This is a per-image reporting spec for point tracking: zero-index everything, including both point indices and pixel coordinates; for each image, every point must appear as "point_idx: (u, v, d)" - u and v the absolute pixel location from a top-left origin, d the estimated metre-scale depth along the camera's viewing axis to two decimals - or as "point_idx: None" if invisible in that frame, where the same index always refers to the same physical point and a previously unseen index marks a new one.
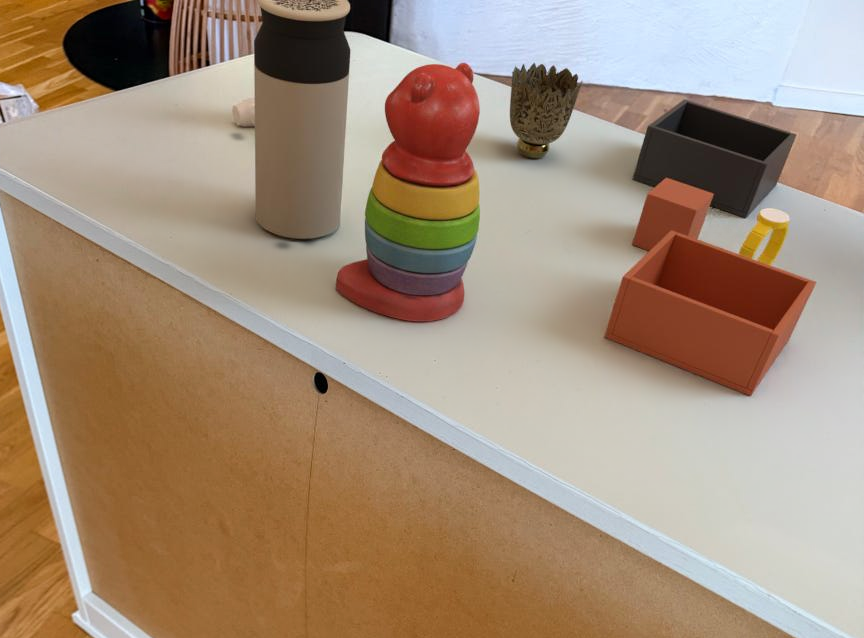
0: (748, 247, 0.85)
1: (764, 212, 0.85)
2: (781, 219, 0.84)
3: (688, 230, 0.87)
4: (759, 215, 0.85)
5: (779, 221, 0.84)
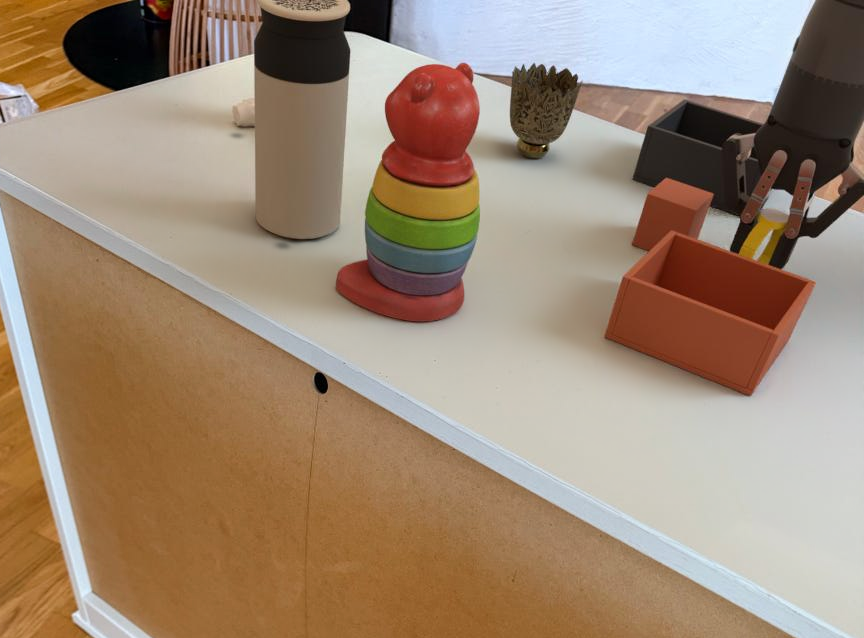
0: (748, 247, 0.85)
1: (764, 212, 0.85)
2: (781, 219, 0.84)
3: (688, 230, 0.87)
4: (759, 215, 0.84)
5: (780, 221, 0.84)
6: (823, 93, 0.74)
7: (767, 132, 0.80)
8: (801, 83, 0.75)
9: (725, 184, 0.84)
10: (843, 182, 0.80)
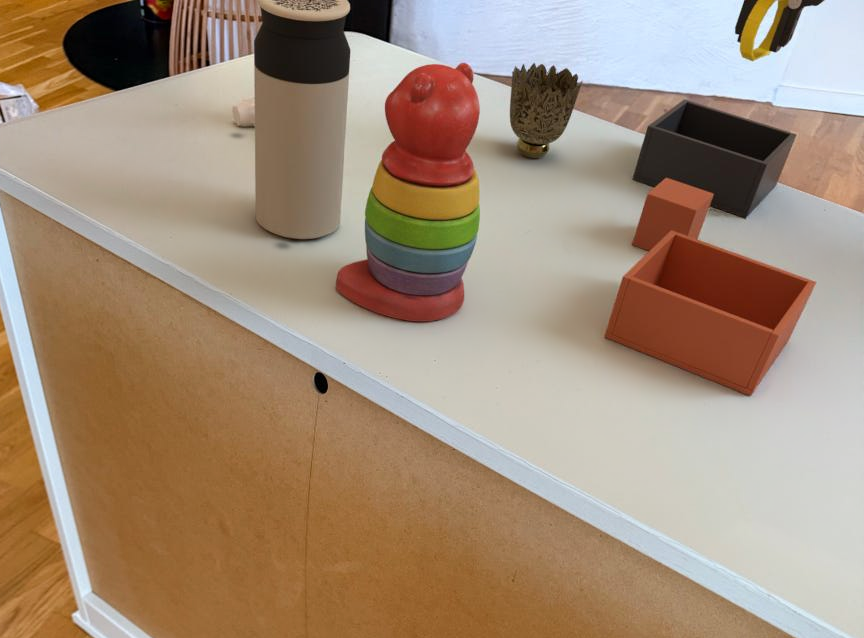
0: (753, 20, 0.88)
1: None
2: None
3: (688, 230, 0.87)
4: None
5: None
6: None
7: None
8: None
9: None
10: None
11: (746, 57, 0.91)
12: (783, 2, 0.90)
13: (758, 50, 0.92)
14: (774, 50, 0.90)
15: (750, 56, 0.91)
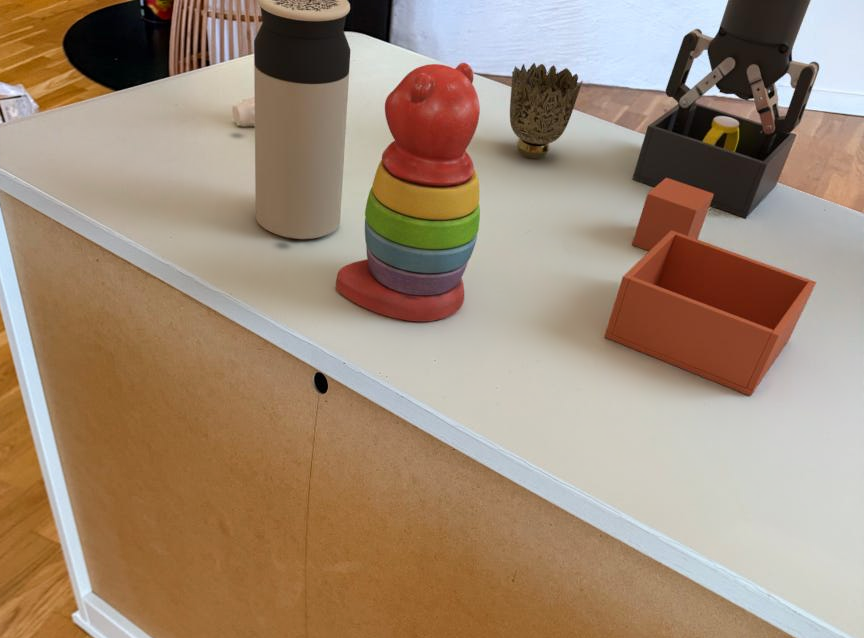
0: None
1: (717, 119, 0.98)
2: (732, 124, 0.97)
3: (688, 230, 0.87)
4: (713, 121, 0.98)
5: (730, 126, 0.97)
6: (762, 3, 0.87)
7: (718, 42, 0.93)
8: None
9: (673, 71, 0.97)
10: (792, 77, 0.92)
11: None
12: None
13: None
14: None
15: None
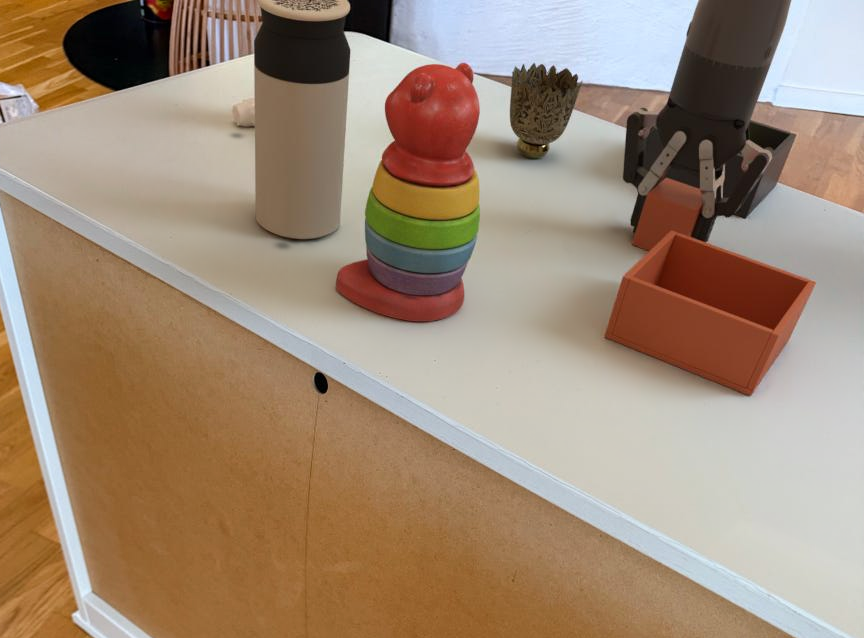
0: None
1: None
2: None
3: (688, 230, 0.87)
4: None
5: None
6: (713, 75, 0.77)
7: (667, 114, 0.83)
8: (693, 66, 0.78)
9: (625, 156, 0.87)
10: (744, 159, 0.83)
11: None
12: None
13: None
14: None
15: None
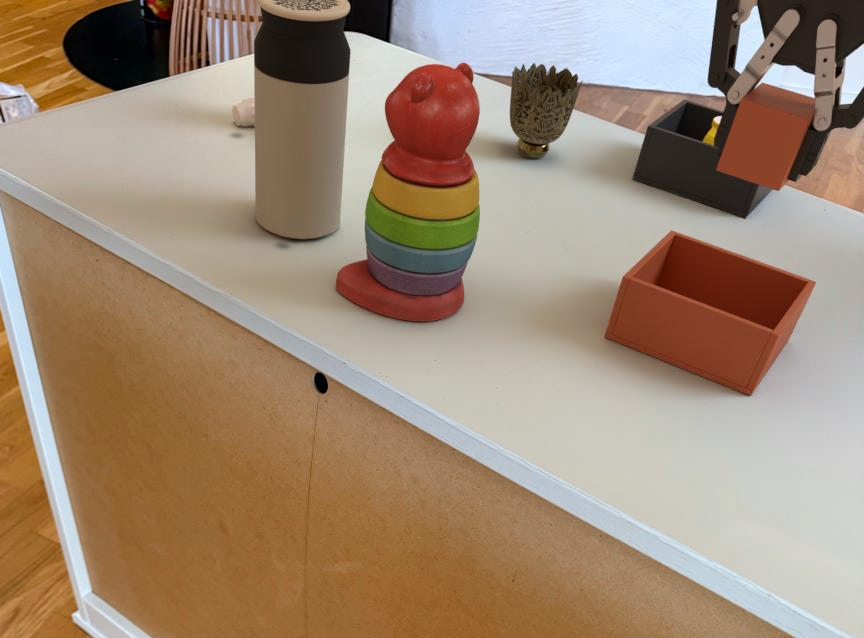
0: None
1: (717, 119, 0.98)
2: None
3: (795, 147, 0.66)
4: (713, 121, 0.98)
5: None
6: None
7: None
8: None
9: (712, 51, 0.67)
10: None
11: None
12: None
13: None
14: (794, 179, 0.69)
15: None
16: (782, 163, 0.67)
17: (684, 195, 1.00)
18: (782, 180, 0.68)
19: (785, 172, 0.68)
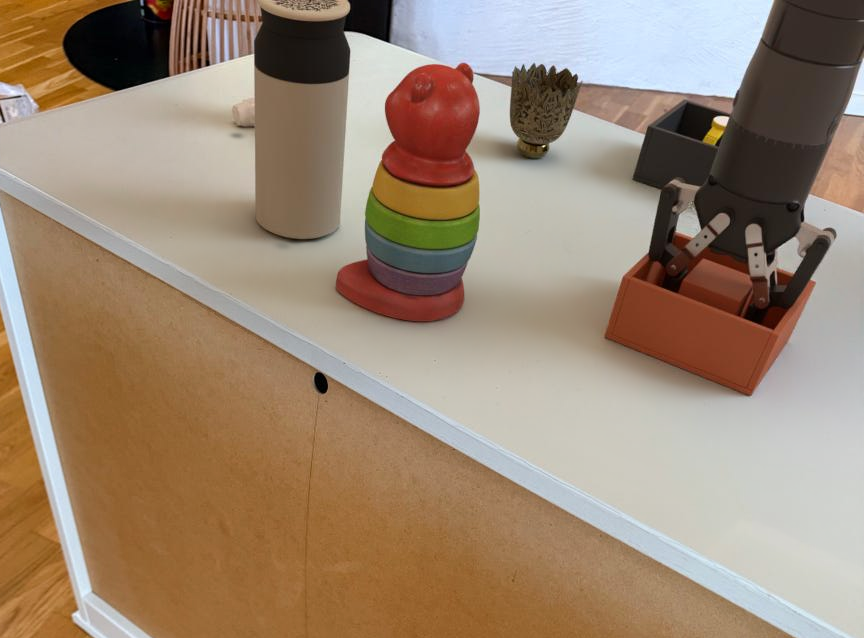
0: None
1: (717, 119, 0.98)
2: None
3: None
4: (713, 121, 0.98)
5: None
6: (765, 154, 0.66)
7: (708, 192, 0.72)
8: (741, 142, 0.66)
9: (654, 232, 0.76)
10: (801, 244, 0.71)
11: None
12: None
13: None
14: None
15: None
16: None
17: None
18: None
19: None
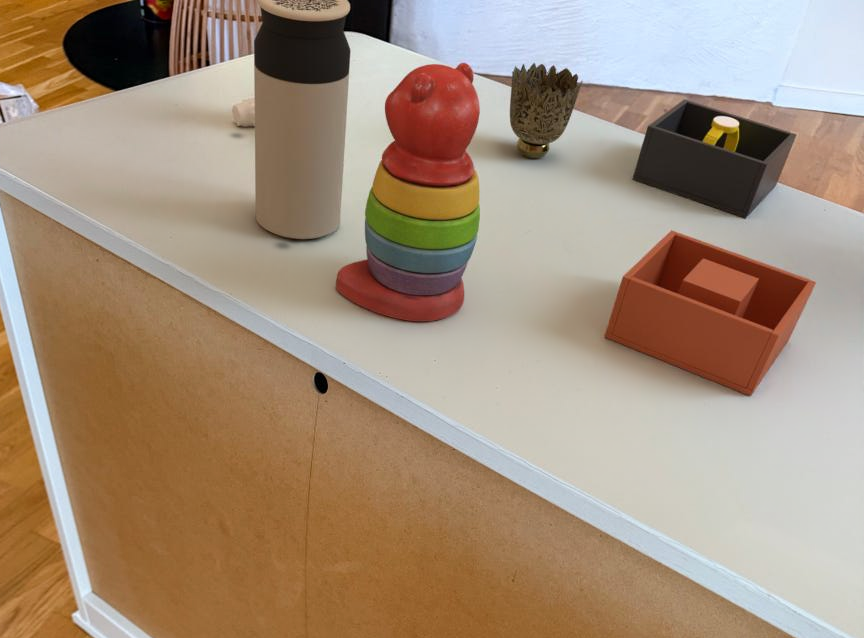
0: None
1: (717, 119, 0.98)
2: (732, 124, 0.97)
3: None
4: (713, 121, 0.98)
5: (730, 126, 0.97)
6: None
7: None
8: None
9: None
10: None
11: None
12: None
13: None
14: None
15: None
16: None
17: (684, 195, 1.00)
18: None
19: None
